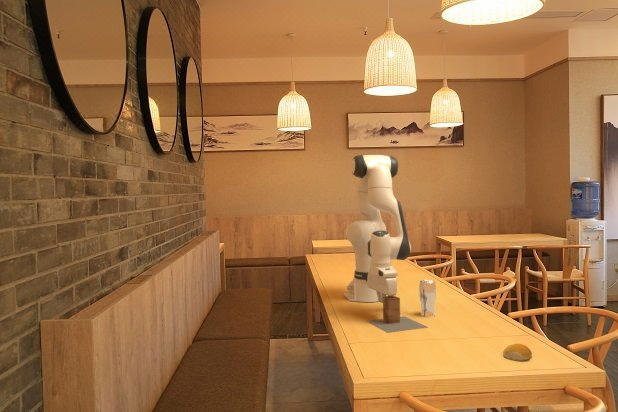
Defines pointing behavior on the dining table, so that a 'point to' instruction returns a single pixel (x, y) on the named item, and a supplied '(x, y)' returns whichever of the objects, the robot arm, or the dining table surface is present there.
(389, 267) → the robot arm
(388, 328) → the rubber mat
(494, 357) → the dining table surface
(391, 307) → the walnut block
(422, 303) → the beer glass
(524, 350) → the bread roll
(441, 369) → the dining table surface
